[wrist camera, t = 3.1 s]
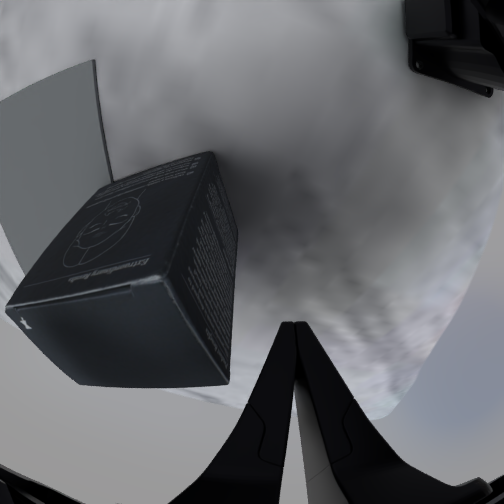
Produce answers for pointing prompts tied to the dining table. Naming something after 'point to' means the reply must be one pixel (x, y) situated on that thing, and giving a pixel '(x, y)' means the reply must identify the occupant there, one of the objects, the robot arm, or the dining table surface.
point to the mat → (49, 158)
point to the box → (139, 283)
